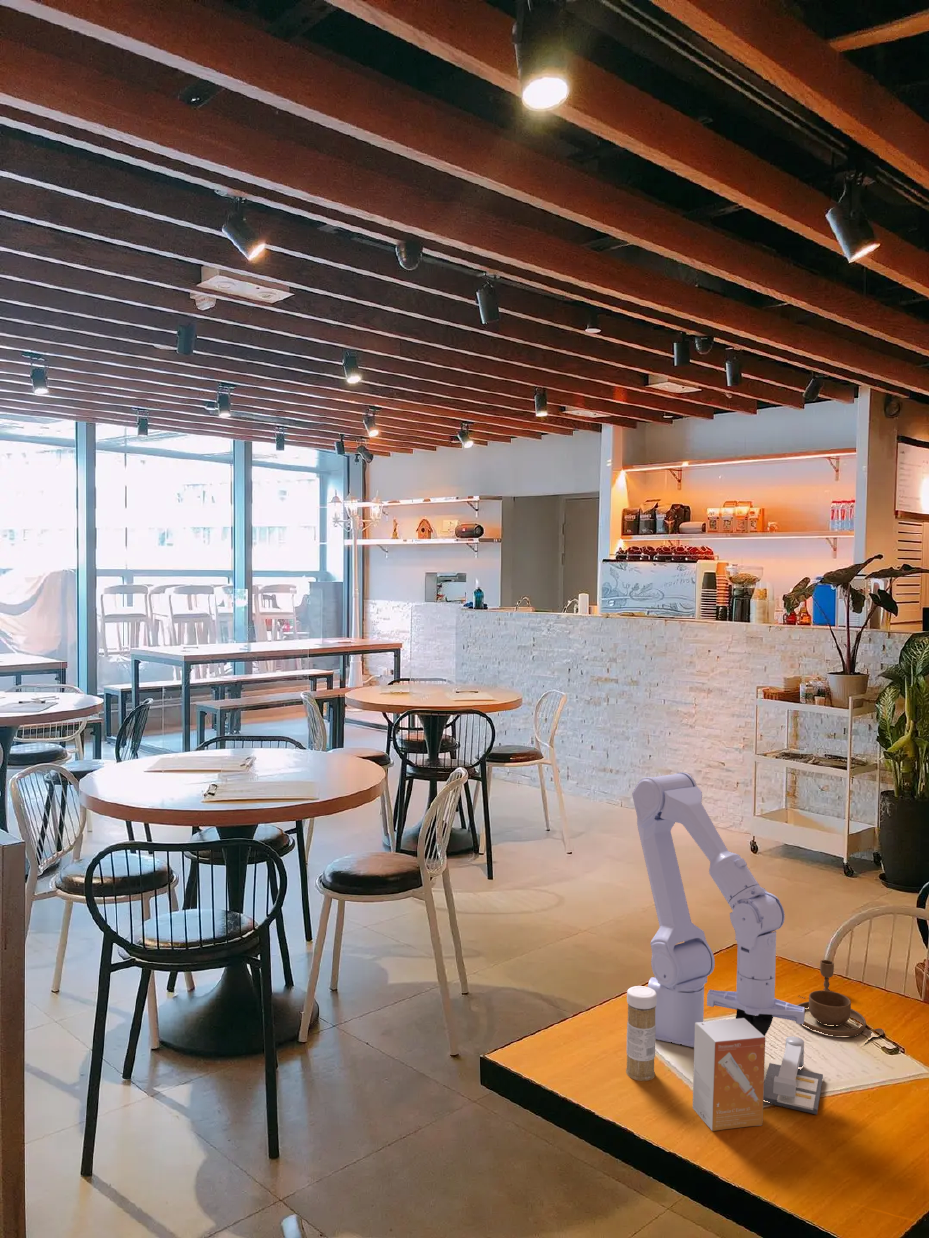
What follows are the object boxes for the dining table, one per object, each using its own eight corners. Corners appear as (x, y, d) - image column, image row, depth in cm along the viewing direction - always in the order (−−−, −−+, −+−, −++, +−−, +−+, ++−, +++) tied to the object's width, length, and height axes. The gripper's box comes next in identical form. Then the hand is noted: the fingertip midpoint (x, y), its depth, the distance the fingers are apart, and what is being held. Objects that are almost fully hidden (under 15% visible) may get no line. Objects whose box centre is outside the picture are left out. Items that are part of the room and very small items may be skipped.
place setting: (765, 1017, 171) (766, 985, 171) (820, 987, 185) (821, 957, 184) (860, 1054, 158) (861, 1019, 158) (912, 1018, 172) (913, 986, 171)
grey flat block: (759, 1102, 142) (759, 1089, 142) (772, 1056, 156) (772, 1044, 156) (816, 1116, 138) (817, 1102, 138) (824, 1067, 152) (825, 1055, 152)
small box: (712, 1132, 134) (714, 1041, 133) (691, 1108, 140) (693, 1021, 140) (764, 1126, 136) (766, 1036, 135) (741, 1102, 142) (743, 1016, 141)
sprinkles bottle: (642, 1065, 152) (644, 982, 152) (661, 1078, 148) (662, 993, 148) (619, 1071, 150) (621, 987, 150) (637, 1085, 146) (639, 999, 146)
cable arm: (785, 1045, 155) (786, 1034, 155) (805, 1049, 153) (805, 1038, 153) (773, 1092, 140) (773, 1080, 140) (794, 1097, 139) (795, 1085, 139)
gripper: (704, 973, 149) (702, 1059, 149) (802, 991, 142) (799, 1080, 143) (712, 957, 155) (710, 1039, 155) (806, 974, 149) (804, 1059, 149)
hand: (753, 1058), depth 150 cm, fingers closed
